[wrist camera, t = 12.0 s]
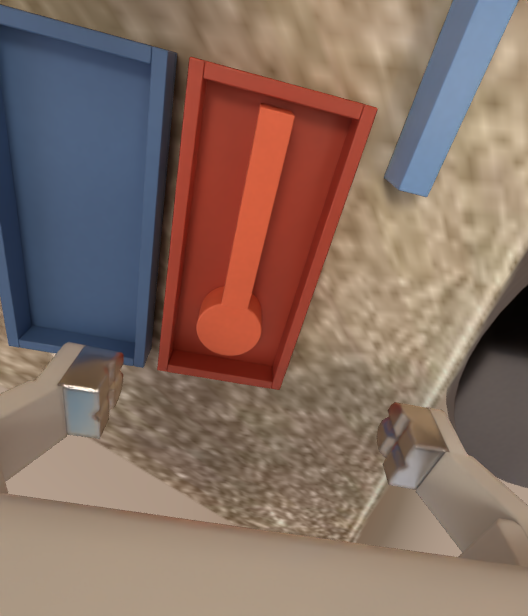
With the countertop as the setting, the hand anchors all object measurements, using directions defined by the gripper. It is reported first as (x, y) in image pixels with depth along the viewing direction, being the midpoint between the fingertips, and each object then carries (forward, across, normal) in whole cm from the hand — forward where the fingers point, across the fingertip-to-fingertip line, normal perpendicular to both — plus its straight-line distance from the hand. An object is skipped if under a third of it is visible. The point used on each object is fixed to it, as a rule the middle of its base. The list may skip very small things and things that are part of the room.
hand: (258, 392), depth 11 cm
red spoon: (+10, +1, 0) cm, 11 cm away
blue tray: (+11, +10, 0) cm, 14 cm away
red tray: (+11, +1, 0) cm, 11 cm away
